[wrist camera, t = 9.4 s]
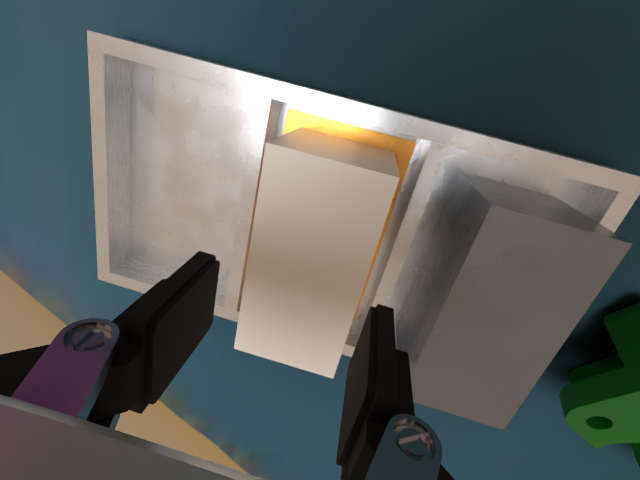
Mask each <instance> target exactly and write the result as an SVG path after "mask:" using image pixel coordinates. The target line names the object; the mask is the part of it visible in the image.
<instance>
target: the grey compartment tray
mask: <svg viewBox="0 0 640 480" xmlns="http://www.w3.org/2000/svg"><path fill="white" fill-rule="evenodd" d="M87 43H88V65H89V87H90V109H91V132H92V154H93V176H94V199H95V221H96V243H97V266H98V279H99V280H102V281H105V282H109V283H112V284H115V285H118V286H122V287H125V288H128V289H132V290H135V291H138V292H141V293H146V292H147V291H148V290H149V289H151V288H152V287H153V286H154V285H155V284H157V283H158V282H159V281H160V280H162V279H167V278H168V277H170V276H171V275H172V274H173V273H174V272H175V271H176V270H178V269H179V268H180V267H181V266H182V265H183V264H185V263H186V262H187V261H188V260H189V259H190V258H191V257H193V256H194V255H195V254H196V253H197V252H199V251H202V252H205V253H209V254H212V255H215V256H216V260H218V261H220V268H219V275H218V283H217V291H216V299H215V306H214V314H213V315H216V316H219V317H223V318H226V319H229V320H232V321H236V322H238V319H239V312H240V306H241V300H242V293H243V287H244V280H245V274H246V267H247V261H248V255H249V248H250V242H251V235H252V229H253V222H254V216H255V209H256V203H257V197H258V190H259V184H260V177H261V171H262V164H263V158H264V152H265V145H266V142H268V141H271V140H273V139H275V138H277V137H280V136H282V135H284V134H287V133H289V132H291V131H294V130H296V129H298V128H300V127H302V128H306V129H310V130H314V131H317V132H321V133H325V134H329V135H333V136H337V137H341V138H344V139H348V140H352V141H356V142H360V143H364V144H367V145H371V146H375V147H379V148H383V149H387V150H391V151H394V152H395V157H396V162H397V167H398V172H399V177H400V179H399V182H398V185H397V188H396V191H395V194H394V197H393V200H392V203H391V206H390V209H389V212H388V215H387V218H386V221H385V224H384V227H383V230H382V233H381V236H380V239H379V242H378V245H377V248H376V251H375V254H374V257H373V260H372V263H371V266H370V269H369V272H368V275H367V278H366V281H365V284H364V287H363V290H362V293H361V296H360V300H359V303H358V306H357V309H356V312H355V315H354V318H353V321H352V324H351V327H350V330H349V333H348V336H347V339H346V342H345V345H344V348H343V351H342V354H343V355H346V356H350V357H352V355H353V353H354V350H355V347H356V344H357V342H358V339H359V336H360V333H361V331H362V328H363V325H364V322H365V320H366V317H367V314H368V311H369V309H370V307H371V306H373V307H376V306H377V304H380V305H384V306H387V307H390V308H393V309H394V323H395V343H396V349H398V350H402V351H405V352H407V353H408V355H409V364H410V374H411V384H412V394H413V402H415V403H418V404H421V405H425V406H428V407H431V408H434V409H437V410H441V411H444V412H447V413H450V414H453V415H457V416H460V417H463V418H466V419H469V420H473V421H476V422H479V423H482V424H486V425H489V426H492V427H495V428H498V429H502V430H504V428H505V427H506V426H507V424H508V423H509V421H510V420H511V418H512V417H513V415H514V414H515V413H516V411H517V410H518V408H519V407H520V405H521V404H522V403H523V401H524V400H525V398H526V397H527V395H528V394H529V392H530V391H531V390H532V388H533V387H534V385H535V384H536V382H537V381H538V380H539V378H540V377H541V375H542V374H543V372H544V371H545V369H546V368H547V367H548V365H549V364H550V362H551V361H552V359H553V358H554V357H555V355H556V354H557V352H558V351H559V349H560V348H561V346H562V345H563V344H564V342H565V341H566V339H567V338H568V336H569V335H570V334H571V332H572V331H573V329H574V328H575V326H576V325H577V323H578V322H579V321H580V319H581V318H582V316H583V315H584V313H585V312H586V311H587V309H588V308H589V306H590V305H591V303H592V302H593V300H594V299H595V298H596V296H597V295H598V293H599V292H600V290H601V289H602V288H603V286H604V285H605V283H606V282H607V280H608V279H609V277H610V276H611V275H612V273H613V272H614V270H615V269H616V267H617V266H618V265H619V263H620V262H621V260H622V259H623V257H624V256H625V254H626V253H627V252H628V250H629V249H630V247H631V246H632V243H630V242H629V241H627V240H626V239H624V238H622V237H621V236H619V235H617V234H616V233H614V232H615V231H616V229H617V228H618V226H619V225H620V223H621V222H622V220H623V219H624V217H625V216H626V214H627V213H628V211H629V210H630V208H631V207H632V205H633V204H634V202H635V200H636V199H637V197H638V196H639V194H640V176H638V175H635V174H632V173H629V172H626V171H623V170H620V169H617V168H614V167H610V166H606V165H602V164H598V163H595V162H591V161H587V160H583V159H580V158H576V157H572V156H568V155H564V154H561V153H557V152H553V151H549V150H546V149H542V148H538V147H534V146H530V145H527V144H523V143H519V142H515V141H512V140H508V139H504V138H500V137H496V136H493V135H489V134H485V133H481V132H478V131H474V130H470V129H466V128H462V127H459V126H455V125H451V124H447V123H444V122H440V121H436V120H432V119H428V118H425V117H421V116H417V115H413V114H410V113H406V112H402V111H398V110H394V109H391V108H387V107H383V106H379V105H376V104H372V103H368V102H364V101H360V100H357V99H353V98H349V97H345V96H342V95H338V94H334V93H330V92H326V91H323V90H319V89H315V88H311V87H308V86H304V85H300V84H296V83H292V82H289V81H285V80H281V79H277V78H274V77H270V76H266V75H262V74H258V73H255V72H251V71H247V70H243V69H240V68H236V67H232V66H228V65H224V64H221V63H217V62H213V61H209V60H206V59H202V58H198V57H194V56H190V55H187V54H183V53H179V52H175V51H172V50H168V49H164V48H160V47H156V46H153V45H149V44H145V43H141V42H138V41H134V40H130V39H126V38H122V37H117V36H113V35H108V34H103V33H98V32H93V31H89V30H87Z"/></svg>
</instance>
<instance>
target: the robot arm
mask: <svg viewBox="0 0 640 480" xmlns="http://www.w3.org/2000/svg"><path fill="white" fill-rule="evenodd" d="M219 268H220V261H218V260H216V256H215V255H212V254H209V253H205V252H202V251H199V252H197V253H196V254H195V255H194V256H193V257H191V258H190V259H189V260H188V261H187V262H186V263H185V264H183V265H182V266H181V267H180V268H179V269H178V270H176V271H175V272H174V273H173V274H172V275H171V276H170V277H168V278H167V279H162V280H160V281H159V282H158V283H157V284H155V285H154V286H153V287H152V288H151V289H149V290H148V291H147V292H146V293H145V294H144V295H142V296H141V297H140V298H139V299H138V300H137V301H135V302H134V303H133V304H132V305H131V306H129V307H128V308H127V309H126V310H125V311H124V312H122V313H121V314H120V315H119V316H118V317H116V318H115V319H114V320H113V321H110V320H107V319H101V318H90V319H84V320H80V321H77V322H74V323H72V324H70V325H68V326H67V327H65V328H63V330H61V331H60V332H59V333H58V335H57V336H56V337H55V339H54V340H53V341H52V343H51V344H50V345H45V346H40V347H36V348H31V349H26V350H21V351H16V352H11V353H6V354H1V355H0V480H265V479H262V478H259V477H256V476H253V475H250V474H247V473H244V472H241V471H238V470H235V469H232V468H229V467H226V466H223V465H219V464H216V463H214V462H211V461H208V460H204V459H202V458H199V457H196V456H193V455H189V454H186V453H183V452H180V451H177V450H174V449H171V448H168V447H165V446H162V445H159V444H156V443H153V442H150V441H147V440H144V439H141V438H138V437H135V436H132V435H129V434H126V433H123V432H120V431H116V430H114V429H115V427H116V424H117V422H118V419H119V417H120V413H123V412H126V411H128V410H131V411H134V412H137V413H140V414H141V413H142V412H143V411H144V409H145V408H146V407H147V406H148V404H149V403H150V404H154V403H156V401H157V400H158V399H159V398H160V396H161V395H162V393H163V392H164V391H165V389H166V388H167V387H168V385H169V384H170V382H171V381H172V380H173V378H174V377H175V376H176V374H177V373H178V371H179V370H180V369H181V367H182V366H183V365H184V363H185V362H186V361H187V359H188V358H189V356H190V355H191V354H192V352H193V351H194V350H195V348H196V347H197V345H198V344H199V343H200V341H201V340H202V339H203V337H204V336H205V334H206V333H207V332H208V330H209V329H210V327H211V324H212V321H213V314H214V306H215V299H216V291H217V283H218V275H219ZM441 459H442V446H441V443H440V440H439V438H438V436H437V435H436V433H435V431H434V430H433V429H432V428H431V427H430V426H429V425H428V424H427V423H425V422H424V421H423V420H421V419H420V418H417V417H415V414H414V404H413V394H412V384H411V374H410V364H409V355H408V353H407V352H405V351H402V350H398V349H396V343H395V323H394V309H393V308H390V307H387V306H384V305H380V304H377V306H376V307H373V306H371V307H370V309H369V311H368V314H367V317H366V320H365V322H364V325H363V328H362V331H361V333H360V336H359V339H358V342H357V344H356V347H355V350H354V353H353V355H352V358H351V361H350V364H349V367H348V372H347V380H346V388H345V396H344V404H343V412H342V420H341V427H340V435H339V443H338V451H337V460H336V464H337V465H340V466H342V472H341V479H342V480H454V479H453V477H452V476H451V475H450V474H449V473H448V472H447V471H446V469H445V468H444V467H443V466H442V465H441Z"/></svg>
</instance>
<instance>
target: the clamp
mask: <svg viewBox="0 0 640 480" xmlns="http://www.w3.org/2000/svg"><path fill="white" fill-rule="evenodd" d="M604 322H605V325H606V327H607V329H608V331H609V334H610V336H611V338H612V340H613V342H614V345H615V347H616V349H617V351H618V353H619V354H617V355H614V356H611V357H608V358H605V359H602V360H599V361H596V362H593V363H590V364H587V365H584V366H581V367H578V368H575V369H573V370H572V371H570V372H568V375H569V378H570V381H571V384H568V385H566V386H565V387H564V388H562V390H561V391H560V394H559V396H560V400H561V404H562V408H563V412H564V416H565V420H566V423H567V425H568V426H569V427H570V428H571V429H572V430H573V431H575V432H576V433H577V434H578V435H579V436H581V437H582V438H583V439H584V440H586V441H587V442H588V443H589V444H590V445H592V446H593V447H594V448H595V449H597V448H599V447H602V446H606V445H610V444H617V443H630V444H631V446H632V449H633V452H634V454H635V457H636V459H637V462H638V464H639V467H640V302H639V303H636V304H634V305H631V306H629V307H627V308H624V309H622V310H619V311H617V312H614V313H612V314H609V315H607V316H604Z"/></svg>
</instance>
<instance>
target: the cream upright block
mask: <svg viewBox="0 0 640 480" xmlns="http://www.w3.org/2000/svg"><path fill="white" fill-rule="evenodd" d="M399 179H400V177H399V172H398V167H397V162H396V157H395V152H394V151H391V150H387V149H383V148H379V147H375V146H371V145H367V144H364V143H360V142H356V141H352V140H348V139H344V138H341V137H337V136H333V135H329V134H325V133H321V132H317V131H314V130H310V129H306V128H302V127H300V128H298V129H296V130H294V131H291V132H289V133H287V134H284V135H282V136H280V137H277V138H275V139H273V140H271V141H268V142H266V145H265V152H264V158H263V164H262V171H261V177H260V184H259V190H258V197H257V203H256V209H255V216H254V222H253V229H252V235H251V242H250V248H249V255H248V261H247V267H246V274H245V280H244V287H243V293H242V300H241V306H240V312H239V319H238V325H237V332H236V338H235V345H234V349H237V350H240V351H243V352H247V353H250V354H253V355H257V356H260V357H263V358H267V359H270V360H273V361H276V362H280V363H283V364H286V365H290V366H293V367H296V368H300V369H303V370H306V371H309V372H313V373H316V374H319V375H323V376H326V377H329V378H334V375H335V372H336V369H337V366H338V363H339V360H340V357H341V354H342V351H343V348H344V345H345V342H346V339H347V336H348V333H349V330H350V327H351V324H352V321H353V318H354V315H355V312H356V309H357V306H358V303H359V300H360V296H361V293H362V290H363V287H364V284H365V281H366V278H367V275H368V272H369V269H370V266H371V263H372V260H373V257H374V254H375V251H376V248H377V245H378V242H379V239H380V236H381V233H382V230H383V227H384V224H385V221H386V218H387V215H388V212H389V209H390V206H391V203H392V200H393V197H394V194H395V191H396V188H397V185H398V182H399Z"/></svg>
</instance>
